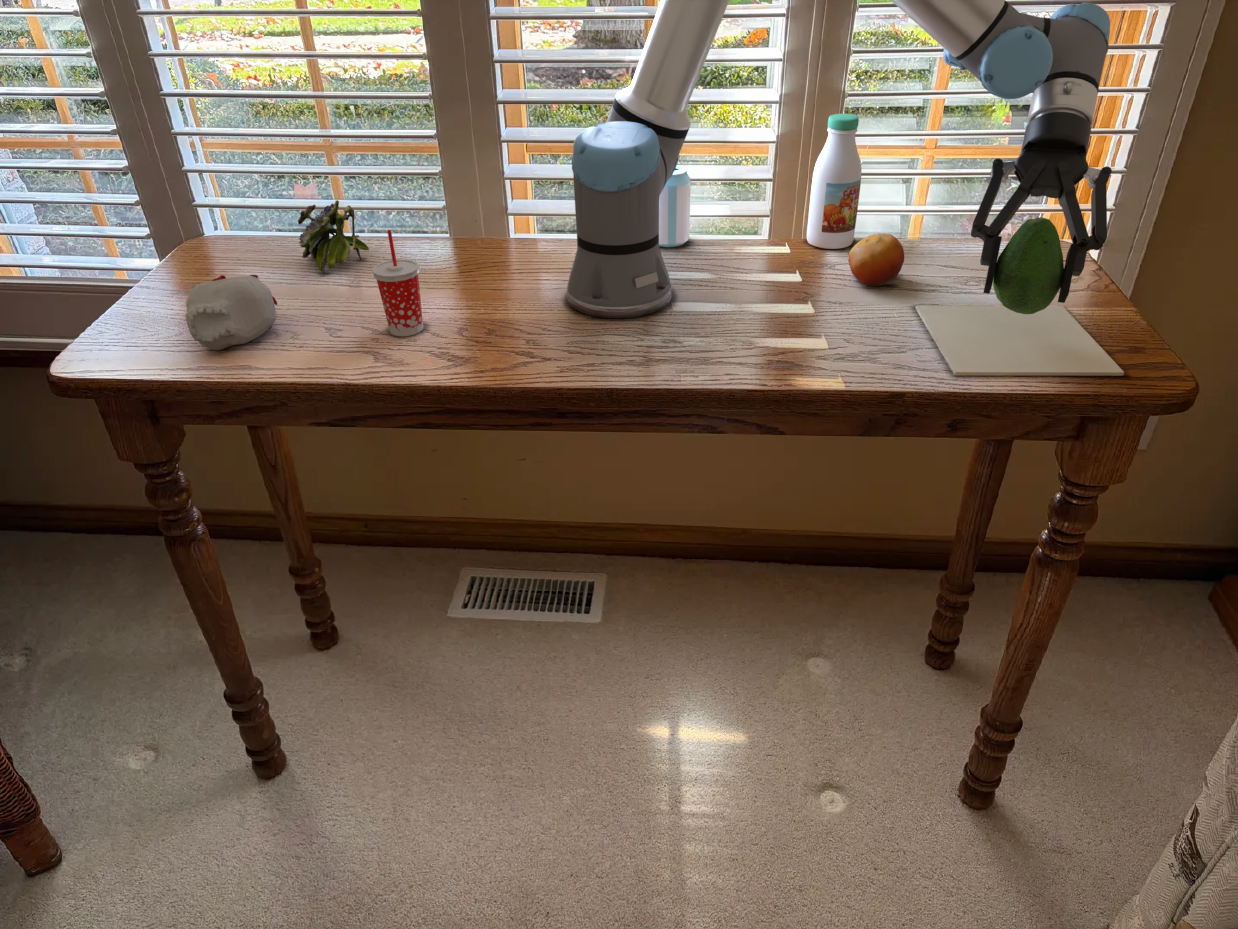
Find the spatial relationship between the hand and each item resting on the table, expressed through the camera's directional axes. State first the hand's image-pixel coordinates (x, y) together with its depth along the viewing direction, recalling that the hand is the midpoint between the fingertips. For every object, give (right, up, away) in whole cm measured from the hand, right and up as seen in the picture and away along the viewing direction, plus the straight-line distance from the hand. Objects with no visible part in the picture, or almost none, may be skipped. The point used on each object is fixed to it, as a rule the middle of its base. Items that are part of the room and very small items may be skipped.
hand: (1024, 293), depth 106 cm
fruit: (-11, +7, +25) cm, 28 cm away
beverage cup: (-79, -2, +14) cm, 81 cm away
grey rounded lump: (-102, -3, +14) cm, 103 cm away
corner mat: (+1, -5, +7) cm, 8 cm away
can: (-41, +17, +41) cm, 60 cm away
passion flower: (-96, +12, +37) cm, 104 cm away
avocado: (+1, -2, +5) cm, 5 cm away
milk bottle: (-15, +16, +39) cm, 44 cm away
